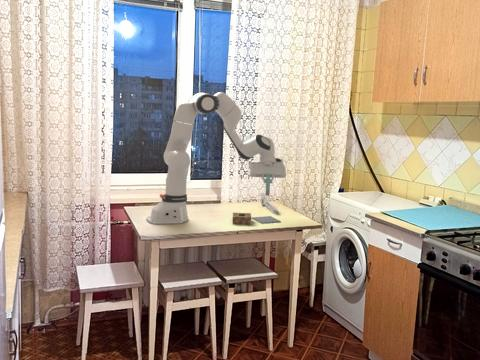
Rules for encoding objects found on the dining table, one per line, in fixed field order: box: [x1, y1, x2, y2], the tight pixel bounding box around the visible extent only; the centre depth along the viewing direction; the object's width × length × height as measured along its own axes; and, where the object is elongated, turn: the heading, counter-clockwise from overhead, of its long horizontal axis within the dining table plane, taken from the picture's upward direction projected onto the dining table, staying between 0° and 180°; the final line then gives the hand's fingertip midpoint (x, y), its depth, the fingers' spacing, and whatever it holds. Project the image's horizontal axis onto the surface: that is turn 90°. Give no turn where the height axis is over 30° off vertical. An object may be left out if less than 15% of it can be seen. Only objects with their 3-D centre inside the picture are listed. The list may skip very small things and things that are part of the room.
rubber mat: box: [251, 215, 281, 225], centre depth 260 cm, size 12×12×1 cm
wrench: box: [259, 192, 280, 215], centre depth 288 cm, size 8×2×30 cm
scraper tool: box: [264, 173, 271, 197], centre depth 257 cm, size 2×3×12 cm, turn 1°
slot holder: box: [232, 212, 252, 226], centre depth 254 cm, size 10×10×4 cm
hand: (268, 182), depth 256 cm, fingers closed on scraper tool, 2 cm apart
